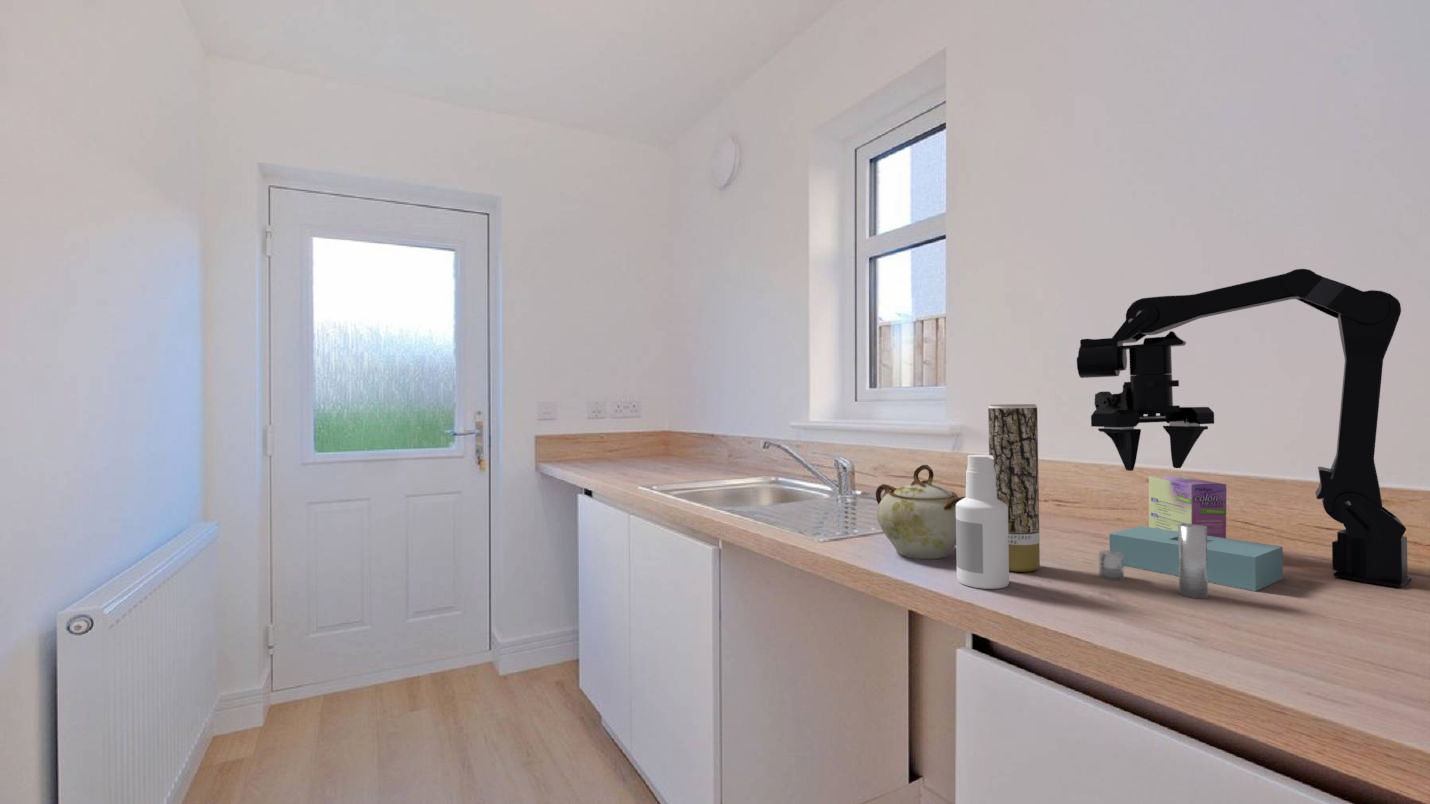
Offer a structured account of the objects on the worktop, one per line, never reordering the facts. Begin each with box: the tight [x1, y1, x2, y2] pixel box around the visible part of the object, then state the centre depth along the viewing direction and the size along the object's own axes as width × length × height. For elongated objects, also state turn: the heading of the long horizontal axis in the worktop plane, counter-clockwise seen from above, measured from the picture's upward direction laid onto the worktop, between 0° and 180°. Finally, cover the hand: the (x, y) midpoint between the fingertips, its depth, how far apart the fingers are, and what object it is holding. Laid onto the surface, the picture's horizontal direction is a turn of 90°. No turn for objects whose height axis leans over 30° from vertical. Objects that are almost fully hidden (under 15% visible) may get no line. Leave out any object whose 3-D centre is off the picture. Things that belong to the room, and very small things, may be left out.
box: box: [1148, 475, 1227, 538], centre depth 105 cm, size 10×6×12 cm, turn 179°
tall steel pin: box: [1178, 524, 1209, 599], centre depth 82 cm, size 3×3×9 cm
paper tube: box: [987, 403, 1041, 573], centre depth 96 cm, size 7×7×25 cm
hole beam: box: [1109, 525, 1284, 592], centre depth 93 cm, size 18×10×4 cm, turn 32°
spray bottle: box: [955, 454, 1010, 590], centre depth 89 cm, size 7×7×18 cm
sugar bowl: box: [875, 464, 966, 560], centre depth 106 cm, size 20×15×15 cm
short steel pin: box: [1098, 550, 1125, 581], centre depth 90 cm, size 3×3×4 cm
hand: (1153, 469), depth 104 cm, fingers open, 9 cm apart
